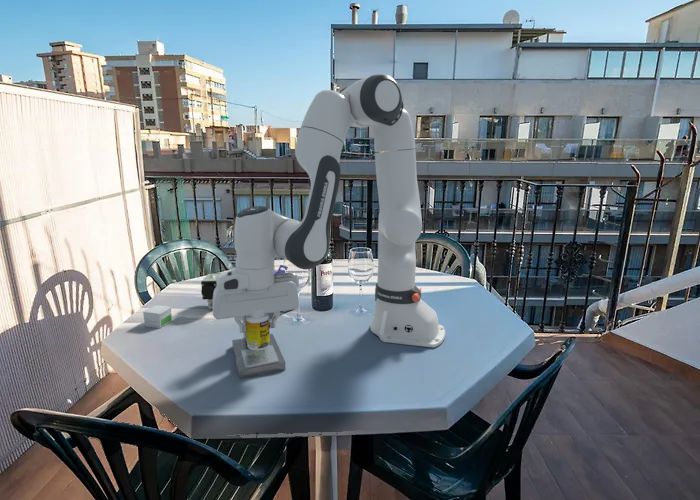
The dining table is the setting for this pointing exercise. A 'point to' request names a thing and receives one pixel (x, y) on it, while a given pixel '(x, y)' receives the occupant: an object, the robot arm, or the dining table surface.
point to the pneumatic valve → (209, 288)
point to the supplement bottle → (257, 330)
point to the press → (257, 357)
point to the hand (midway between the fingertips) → (257, 329)
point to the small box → (157, 316)
